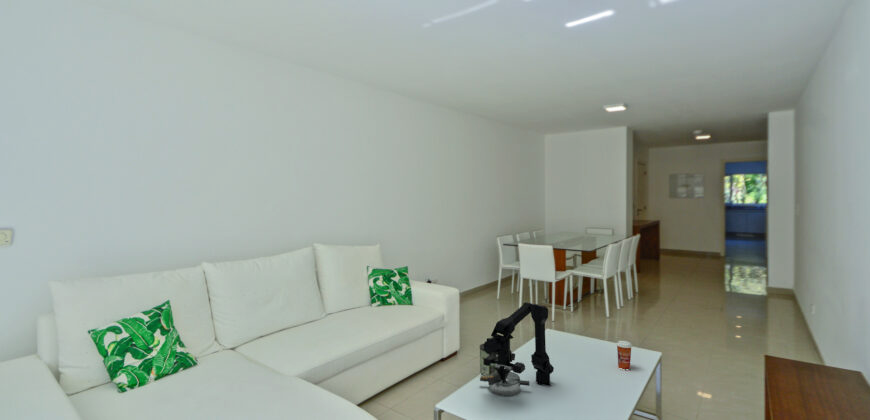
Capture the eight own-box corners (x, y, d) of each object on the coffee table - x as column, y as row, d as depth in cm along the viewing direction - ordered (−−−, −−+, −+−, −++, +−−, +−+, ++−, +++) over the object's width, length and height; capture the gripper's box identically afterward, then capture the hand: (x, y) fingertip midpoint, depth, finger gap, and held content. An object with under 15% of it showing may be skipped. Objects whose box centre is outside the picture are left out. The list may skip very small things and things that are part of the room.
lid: (500, 369, 210) (500, 360, 210) (525, 378, 200) (525, 368, 200) (477, 381, 196) (477, 372, 196) (502, 391, 186) (502, 381, 186)
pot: (529, 385, 204) (529, 375, 204) (529, 399, 190) (529, 388, 190) (482, 380, 210) (482, 370, 210) (478, 393, 195) (478, 383, 195)
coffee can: (499, 369, 224) (499, 343, 223) (498, 377, 214) (498, 350, 213) (480, 367, 226) (480, 342, 225) (478, 375, 216) (478, 349, 215)
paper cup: (616, 369, 222) (616, 344, 221) (616, 364, 229) (616, 339, 229) (632, 372, 219) (632, 346, 218) (631, 366, 226) (631, 341, 226)
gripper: (529, 347, 192) (529, 380, 192) (493, 340, 202) (493, 371, 202) (520, 355, 182) (520, 390, 183) (482, 347, 193) (482, 380, 193)
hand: (503, 382), depth 190 cm, fingers closed
